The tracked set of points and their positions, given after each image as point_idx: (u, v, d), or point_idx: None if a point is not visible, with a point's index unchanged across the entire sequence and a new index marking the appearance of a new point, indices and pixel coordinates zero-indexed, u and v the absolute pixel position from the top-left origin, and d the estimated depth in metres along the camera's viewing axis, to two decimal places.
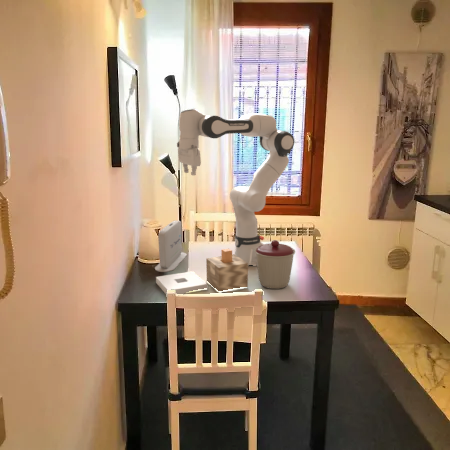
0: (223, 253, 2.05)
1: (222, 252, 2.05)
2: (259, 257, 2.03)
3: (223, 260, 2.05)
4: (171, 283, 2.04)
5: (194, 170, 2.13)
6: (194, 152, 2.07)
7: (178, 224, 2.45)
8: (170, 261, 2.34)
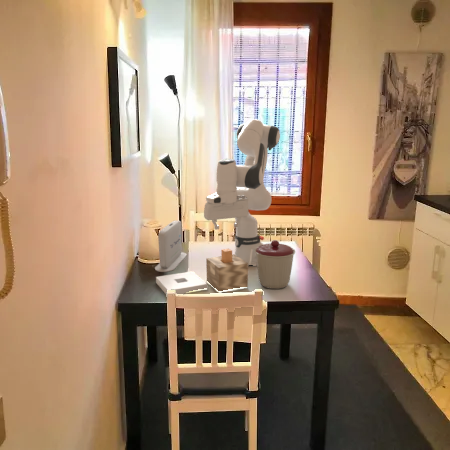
0: (223, 253, 2.05)
1: (222, 252, 2.05)
2: (259, 257, 2.03)
3: (223, 260, 2.05)
4: (171, 283, 2.04)
5: None
6: None
7: (178, 224, 2.45)
8: (170, 261, 2.34)
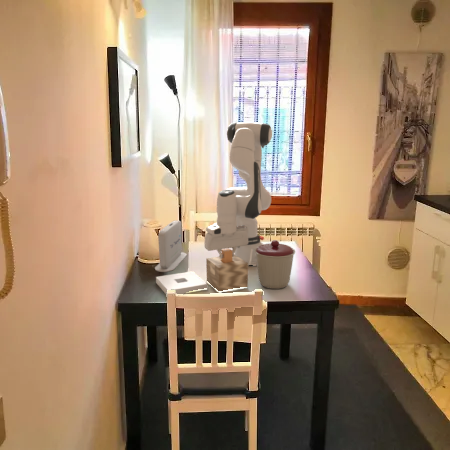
0: (223, 253, 2.05)
1: (222, 252, 2.05)
2: (259, 257, 2.03)
3: (223, 260, 2.05)
4: (171, 283, 2.04)
5: None
6: None
7: (178, 224, 2.45)
8: (170, 261, 2.34)
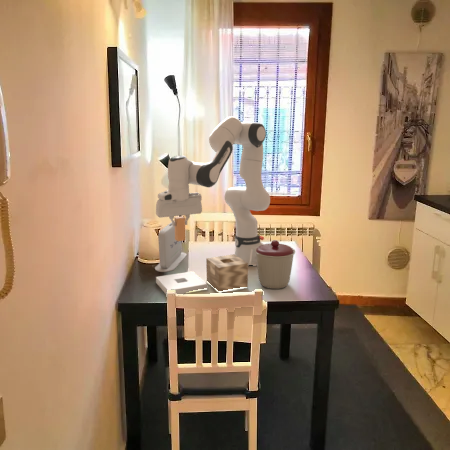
0: (176, 221, 2.00)
1: (175, 219, 2.01)
2: (259, 257, 2.03)
3: (176, 228, 2.01)
4: (171, 283, 2.04)
5: None
6: None
7: None
8: (170, 261, 2.34)
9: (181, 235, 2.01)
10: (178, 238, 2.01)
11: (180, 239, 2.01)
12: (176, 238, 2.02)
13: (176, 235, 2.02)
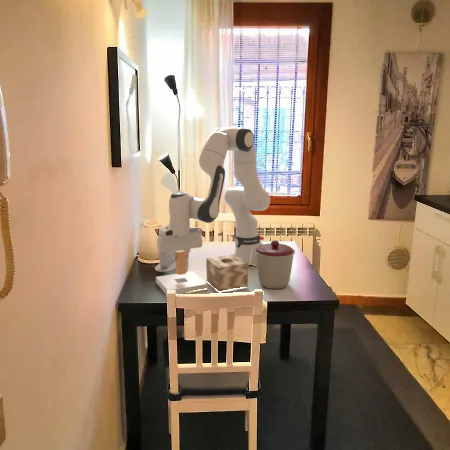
0: (176, 255, 2.04)
1: (175, 253, 2.05)
2: (259, 257, 2.03)
3: (176, 262, 2.05)
4: (171, 283, 2.04)
5: None
6: None
7: None
8: (170, 261, 2.34)
9: (182, 269, 2.05)
10: (179, 272, 2.04)
11: (180, 272, 2.05)
12: (177, 272, 2.06)
13: (177, 269, 2.05)
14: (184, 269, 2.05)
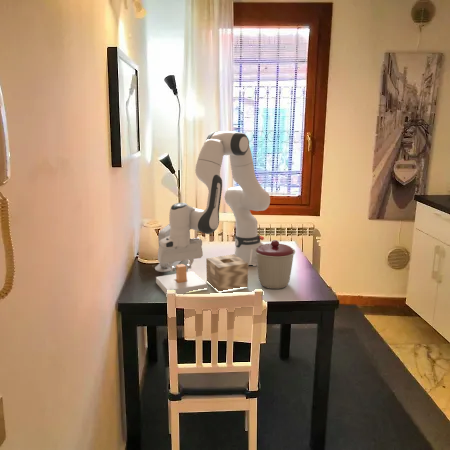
0: (177, 269, 2.06)
1: (176, 267, 2.07)
2: (259, 257, 2.03)
3: (177, 276, 2.06)
4: (171, 283, 2.04)
5: None
6: None
7: None
8: None
9: None
10: None
11: None
12: None
13: (178, 282, 2.07)
14: None
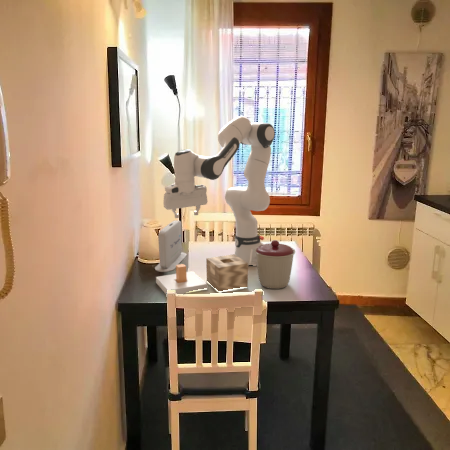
0: (177, 269, 2.06)
1: (176, 267, 2.07)
2: (259, 257, 2.03)
3: (177, 276, 2.06)
4: (171, 283, 2.04)
5: None
6: None
7: (178, 224, 2.45)
8: (170, 261, 2.34)
9: None
10: None
11: None
12: None
13: (178, 282, 2.07)
14: None
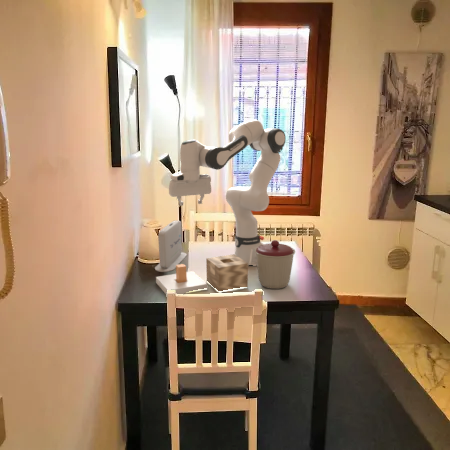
0: (177, 269, 2.06)
1: (176, 267, 2.07)
2: (259, 257, 2.03)
3: (177, 276, 2.06)
4: (171, 283, 2.04)
5: None
6: None
7: (178, 224, 2.45)
8: (170, 261, 2.34)
9: None
10: None
11: None
12: None
13: (178, 282, 2.07)
14: None
